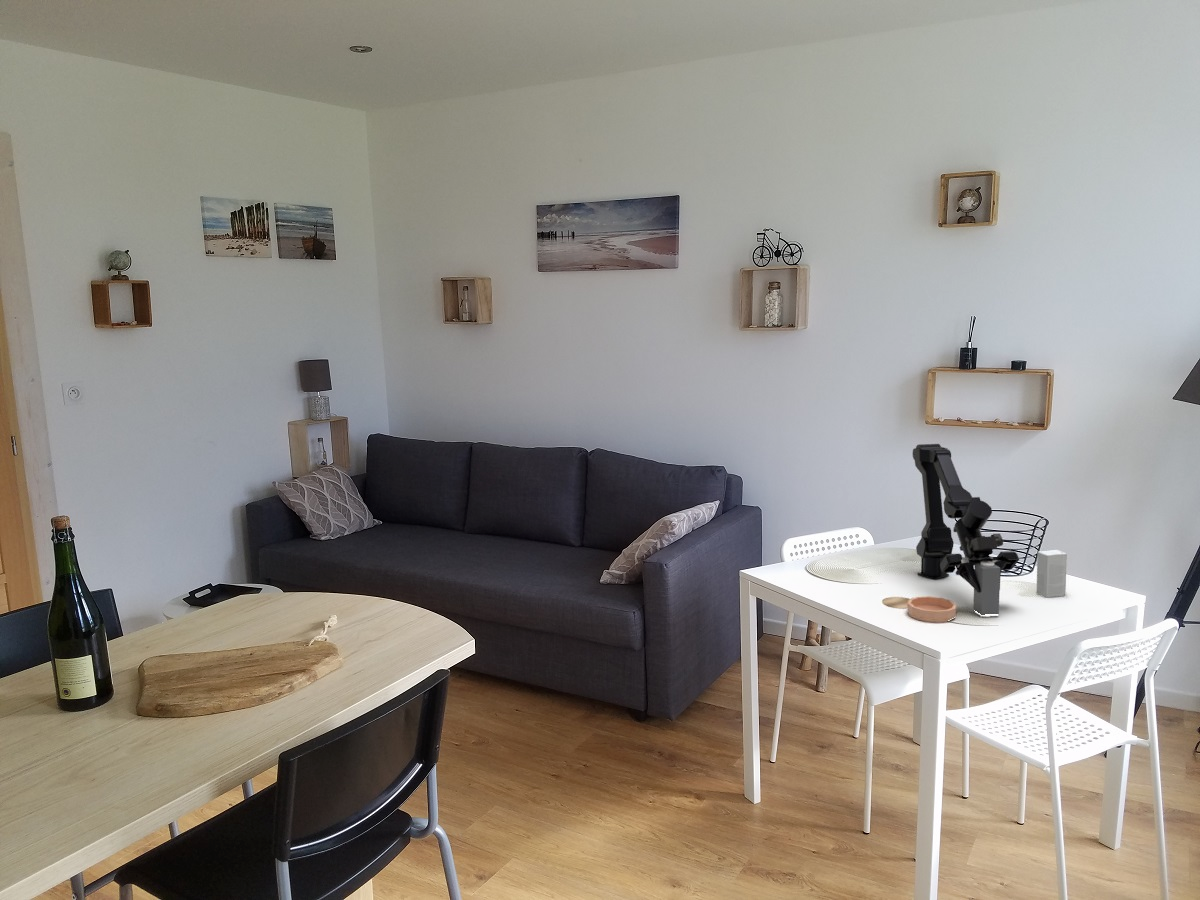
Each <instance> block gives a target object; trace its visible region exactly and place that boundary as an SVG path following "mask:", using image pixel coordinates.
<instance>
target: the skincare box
mask: <svg viewBox="0 0 1200 900" xmlns="http://www.w3.org/2000/svg"><path fill="white" fill-rule="evenodd" d="M1067 555H1068V553H1066V552H1064V551H1061V550H1059V549H1052V550H1050V549H1049V550H1041V551H1040V550H1039V551H1037V556H1036V557H1037V558H1036V560H1037V561H1036V562H1037V563H1036V564H1037V566H1036V594H1037V593H1038V594H1037V595H1039V594H1040V595H1039V596H1041V595H1042V596H1041V597H1043V596H1044V597H1043V598H1045V599H1046V598H1047V597H1048V598H1056V597H1061V596H1062V597H1064V596H1066V593H1067V591H1066V590H1067V586H1066V585H1067V559H1068V556H1067Z"/></svg>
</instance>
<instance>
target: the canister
mask: <svg viewBox="0 0 1200 900" xmlns="http://www.w3.org/2000/svg"><path fill="white" fill-rule="evenodd" d="M974 572H975V574H976V577H977V579H978V582H979V585H980V588H981V592H980V593H978V592H977V591H976V590H975V589H974V588H973V607H972V608H973V609H974V610H975V611H977V612H978V613H980V614H981V615H985V614H999V615H1000V590H1001V576H1000V567H998V566H996V565H995V564H994V562H991V561H981V563H976V564H975V565H974ZM973 609H972V610H973Z"/></svg>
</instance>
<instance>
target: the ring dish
mask: <svg viewBox="0 0 1200 900" xmlns="http://www.w3.org/2000/svg"><path fill="white" fill-rule="evenodd" d="M957 607H958V605H957V603H955V602H954V601H952V600H949V599H946V598H943V597H937V596H930V595H929V596H915V597H912V598H909V601H908V603H907V609H906V610H907V615H908V616H909V617H910V618H912V619H915V620H916V621H917V620H918V621H920V622H924V623H925V622H926V623H932V624H933V623H936V624H939V623H940V624H941V623H943V624H944V623H948V622H947V621H948V620H950V619H952V618H954V617H955V616H956V617H957V611H958V610H957Z"/></svg>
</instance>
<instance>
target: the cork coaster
mask: <svg viewBox="0 0 1200 900" xmlns="http://www.w3.org/2000/svg"><path fill="white" fill-rule="evenodd" d="M909 599H910V598H908V597H903V596H891V597H885V598H883V599H882V601H881V603H882V604H883V605H884V606H886V607H889V608H891V609H892V608H893V609H900V610H901V609H903V610H905V609H906V610H907V603H908V601H909Z"/></svg>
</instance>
